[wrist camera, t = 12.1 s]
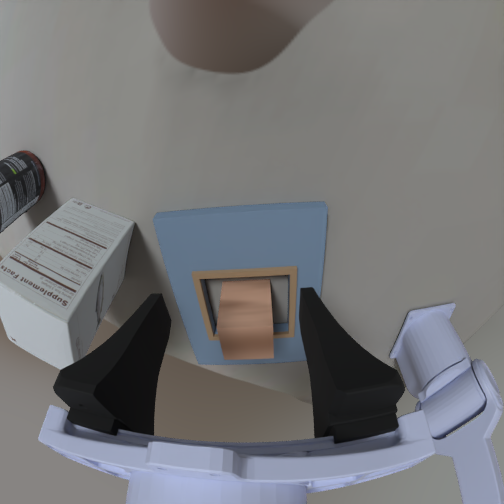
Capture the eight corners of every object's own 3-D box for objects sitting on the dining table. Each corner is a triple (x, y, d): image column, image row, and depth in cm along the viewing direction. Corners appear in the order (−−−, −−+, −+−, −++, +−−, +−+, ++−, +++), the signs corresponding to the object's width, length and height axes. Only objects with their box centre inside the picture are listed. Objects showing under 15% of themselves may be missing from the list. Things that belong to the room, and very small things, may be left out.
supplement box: (125, 279, 27) (77, 380, 16) (67, 254, 25) (5, 339, 14) (138, 220, 23) (69, 326, 12) (72, 193, 21) (-17, 275, 11)
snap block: (270, 312, 29) (273, 358, 24) (228, 313, 29) (224, 359, 24) (269, 279, 26) (273, 326, 21) (222, 281, 27) (216, 328, 22)
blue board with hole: (310, 352, 33) (311, 362, 31) (199, 356, 33) (198, 366, 32) (324, 201, 22) (328, 209, 21) (157, 212, 23) (151, 221, 21)
